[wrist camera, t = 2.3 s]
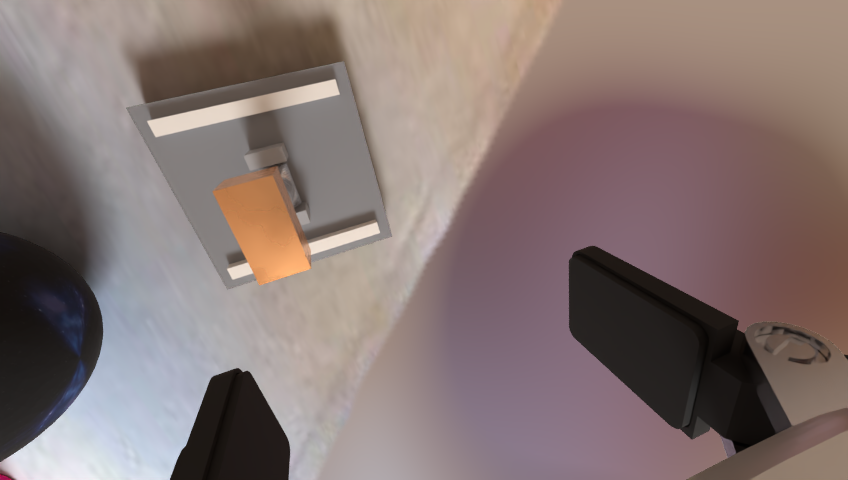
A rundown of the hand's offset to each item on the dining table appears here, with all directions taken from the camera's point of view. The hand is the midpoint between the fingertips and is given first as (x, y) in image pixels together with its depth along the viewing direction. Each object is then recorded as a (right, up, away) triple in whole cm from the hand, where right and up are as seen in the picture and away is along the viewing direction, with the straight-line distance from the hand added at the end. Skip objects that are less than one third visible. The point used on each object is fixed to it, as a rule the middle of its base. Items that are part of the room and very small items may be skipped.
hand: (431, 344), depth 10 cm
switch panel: (-12, +8, +19) cm, 24 cm away
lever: (-11, +7, +15) cm, 19 cm away
